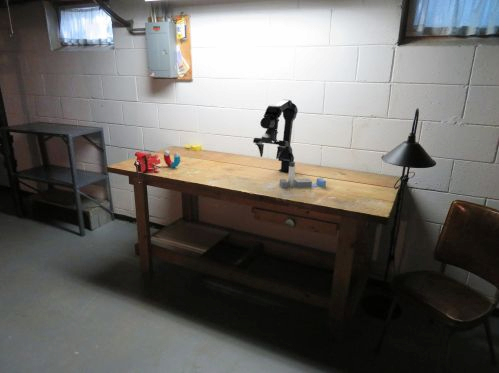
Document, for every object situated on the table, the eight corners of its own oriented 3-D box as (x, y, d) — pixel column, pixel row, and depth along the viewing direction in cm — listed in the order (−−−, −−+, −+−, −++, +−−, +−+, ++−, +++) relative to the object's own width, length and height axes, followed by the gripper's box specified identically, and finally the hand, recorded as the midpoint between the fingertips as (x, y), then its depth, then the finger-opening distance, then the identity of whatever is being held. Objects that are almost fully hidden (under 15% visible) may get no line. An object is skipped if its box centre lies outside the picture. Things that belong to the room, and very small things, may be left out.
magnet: (180, 168, 222) (180, 152, 218) (177, 169, 219) (176, 153, 216) (167, 165, 228) (166, 149, 225) (164, 166, 225) (163, 150, 222)
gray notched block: (279, 186, 193) (279, 179, 191) (321, 184, 197) (322, 178, 196) (282, 189, 187) (282, 182, 186) (325, 188, 191) (326, 181, 190)
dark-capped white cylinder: (289, 184, 193) (291, 161, 188) (294, 185, 191) (296, 162, 187) (286, 186, 190) (288, 162, 186) (292, 187, 188) (293, 163, 184)
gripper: (250, 127, 189) (247, 156, 191) (283, 130, 181) (279, 160, 184) (258, 127, 199) (255, 155, 201) (290, 131, 191) (287, 159, 194)
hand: (269, 157), depth 195 cm, fingers open, 9 cm apart
